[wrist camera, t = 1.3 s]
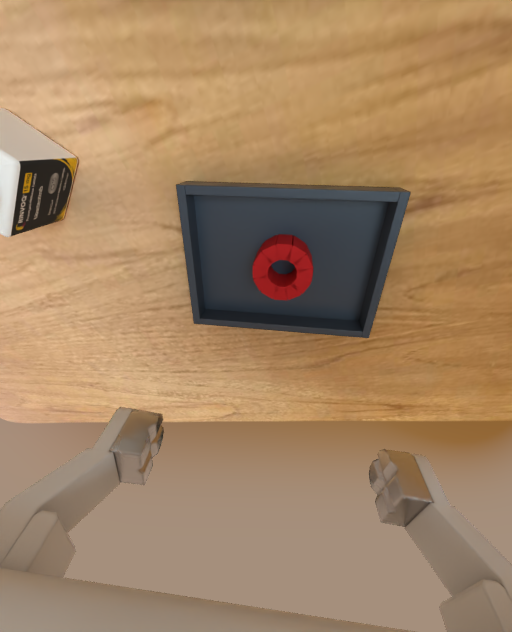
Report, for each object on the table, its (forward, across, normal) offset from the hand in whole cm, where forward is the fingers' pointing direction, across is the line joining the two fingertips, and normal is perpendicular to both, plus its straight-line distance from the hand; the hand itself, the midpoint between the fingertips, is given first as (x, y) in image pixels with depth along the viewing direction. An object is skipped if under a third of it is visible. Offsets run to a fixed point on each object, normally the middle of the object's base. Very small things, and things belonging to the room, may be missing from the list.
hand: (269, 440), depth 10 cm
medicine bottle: (+23, +25, -4) cm, 34 cm away
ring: (+21, -1, +1) cm, 21 cm away
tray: (+22, -1, +1) cm, 22 cm away
